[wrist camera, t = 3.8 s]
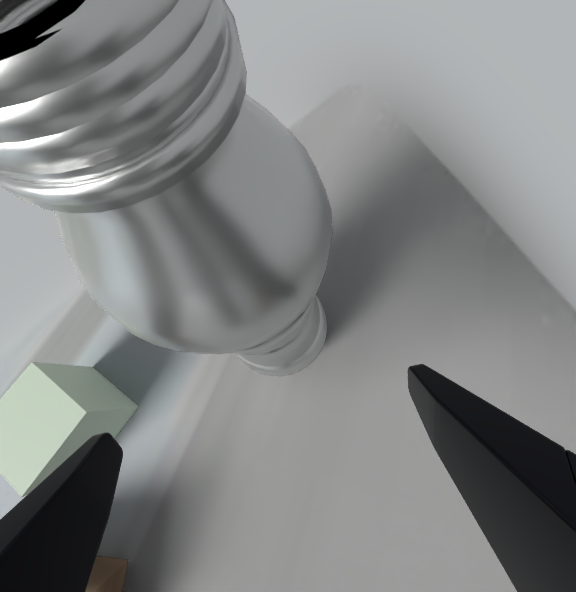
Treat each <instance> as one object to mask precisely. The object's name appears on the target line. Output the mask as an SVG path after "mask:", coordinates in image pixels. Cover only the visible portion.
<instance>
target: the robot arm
mask: <svg viewBox="0 0 576 592" xmlns="http://www.w3.org/2000/svg"><path fill="white" fill-rule="evenodd" d="M408 388H409V392H410V395H411V398H412V400H413V402H414V404H415V407H416V409H417V411H418V413H419V415H420V418H421V420H422V422H423V424H424V427H425V429H426V431H427V433H428V436H429V438H430V440H431V442H432V444H433V446H434V448H435V450H436V452H437V454H438V455H439V457H440V459H441V461H442V462H443V464H444V466H445V468H446V469H447V471H448V473H449V474H450V476H451V478H452V480H453V481H454V483H455V485H456V487H457V488H458V490H459V492H460V493H461V495H462V497H463V499H464V500H465V502H466V504H467V506H468V507H469V509H470V511H471V512H472V514H473V516H474V518H475V519H476V521H477V523H478V525H479V526H480V528H481V530H482V531H483V533H484V535H485V537H486V538H487V540H488V542H489V544H490V545H491V547H492V549H493V550H494V552H495V554H496V556H497V557H498V559H499V561H500V563H501V564H502V566H503V568H504V569H505V571H506V573H507V575H508V576H509V578H510V580H511V582H512V583H513V585H514V587H515V588H516V590H517V592H576V454H574V453H573V452H571V451H569V450H566V451H565V449H564V447H562V446H561V445H559V444H557V443H555V442H554V441H552V440H550V439H549V438H547V437H545V436H544V435H542V434H540V433H539V432H537V431H535V430H534V429H532V428H530V427H529V426H527V425H525V424H523V423H522V422H520V421H518V420H517V419H515V418H513V417H512V416H510V415H508V414H507V413H505V412H503V411H502V410H500V409H498V408H497V407H495V406H493V405H491V404H490V403H488V402H486V401H485V400H483V399H481V398H480V397H478V396H476V395H475V394H473V393H471V392H470V391H468V390H466V389H465V388H463V387H461V386H459V385H458V384H456V383H454V382H453V381H451V380H449V379H448V378H446V377H444V376H443V375H441V374H439V373H438V372H436V371H434V370H433V369H431V368H429V367H427V366H426V365H424V364H419V365H414V366H410V367H409V368H408ZM122 458H123V450H122V448H121V447H120V445H119V444H118V443H117V441H116V440H115V439H114V437H113V436H112V435H111V434H110V433H108V432H105V433H100V434H96V435H93V436H92V437H91V438H89V439H88V440H87V441H86V442H85V443H84V444H83V445H82V446H81V447H80V448H78V449H77V450H76V451H75V452H74V453H73V454H72V455H71V456H70V457H69V458H67V459H66V460H65V461H64V462H63V463H62V464H61V465H60V466H59V467H58V468H56V469H55V470H54V471H53V472H52V473H51V474H50V475H49V476H48V477H47V478H46V479H44V480H43V481H42V482H41V483H40V484H39V485H38V486H37V487H36V488H35V489H33V490H32V491H31V492H30V493H29V494H28V495H27V496H26V497H25V498H24V499H22V500H21V501H20V502H19V503H18V504H17V505H16V506H15V507H14V508H13V509H12V510H10V511H9V512H8V513H7V514H6V515H5V516H4V517H3V518H2V519H1V520H0V592H85V591H86V588H87V585H88V582H89V579H90V575H91V572H92V569H93V566H94V563H95V560H96V557H97V553H98V550H99V547H100V544H101V541H102V538H103V534H104V531H105V528H106V525H107V522H108V518H109V515H110V511H111V507H112V503H113V499H114V494H115V490H116V485H117V481H118V476H119V472H120V467H121V463H122Z"/></svg>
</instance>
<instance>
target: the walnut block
mask: <svg viewBox="0 0 576 592" xmlns="http://www.w3.org/2000/svg"><path fill="white" fill-rule="evenodd" d="M127 564H128V560H125V559H117V558H110V557H103V556H97V557H96V560H95V563H94V566H93V569H92V572H91V575H90V579H89V582H88V585H87V588H86V591H85V592H123V586H124V581H125V575H126V569H127Z"/></svg>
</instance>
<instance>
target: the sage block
mask: <svg viewBox="0 0 576 592" xmlns="http://www.w3.org/2000/svg"><path fill="white" fill-rule="evenodd" d="M137 408H138V405H136V404H135V403H134V402H133V401H132V400H131V399H129V398H128V397H127V396H126V395H125V394H124V393H122V392H121V391H120V390H119V389H118V388H116V387H115V386H114V385H113V384H112V383H111V382H109V381H108V380H107V379H106V378H105V377H104V376H102V375H101V374H100V373H99V372H98V371H97V370H95V369H94V368H93V367H85V366H73V365H61V364H49V363H37V362H31V364H30V365H29V366H28V367H27V368H26V369H25V371H24V372H23V373H22V374H21V375H20V377H19V378H18V379H17V380H16V381H15V383H14V384H13V385H12V386H11V387H10V388H9V390H8V391H7V392H6V393H5V394H4V396H3V397H2V398H1V399H0V474H1V475H2V476H3V477H4V478H5V479H6V480H7V482H8V483H9V484H10V485H11V486H12V487H13V488H14V489H15V490H16V492H17V493H18V494H19V495H20V496H21V497H23V496H25V495H28V494H29V493H30V492H31V491H32V490H33V489H35V488H36V487H37V486H38V485H39V484H40V483H41V482H42V481H43V480H44V479H46V478H47V477H48V476H49V475H50V474H51V473H52V472H53V471H54V470H55V469H56V468H58V467H59V466H60V465H61V464H62V463H63V462H64V461H65V460H66V459H67V458H69V457H70V456H71V455H72V454H73V453H74V452H75V451H76V450H77V449H78V448H80V447H81V446H82V445H83V444H84V443H85V442H86V441H87V440H88V439H89V438H91V437H92V436H93V435H96V434H100V433H105V432H108V433H110V434H111V435H112V436H113V437H114V439H115V438H116V436H117V435H118V434H119V432H120V431H121V430H122V428H123V427H124V426H125V424H126V423H127V421H128V420H129V419H130V417H131V416H132V415H133V413H134V412H135V411H136V409H137Z"/></svg>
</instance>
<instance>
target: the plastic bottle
mask: <svg viewBox="0 0 576 592" xmlns="http://www.w3.org/2000/svg"><path fill="white" fill-rule="evenodd" d="M246 74H247V71H246V67H245V62H244V59H243V53H242V49H241V45H240V40H239V36H238V32H237V27H236V23H235V19H234V16H233V14H232V12H231V10H230V9H229V7H228V5H227V3H226V2H225V0H0V186H1V187H2V188H4V189H5V190H7V191H9V192H10V193H12V194H13V195H15V196H17V197H18V198H20V199H21V200H23V201H26V202H28V203H31V204H33V205H35V206H38V207H40V208H43V209H46V210H52V211H54V212H55V216H56V220H57V225H58V229H59V232H60V235H61V237H62V240H63V242H64V244H65V247H66V249H67V251H68V254H69V256H70V259H71V261H72V263H73V266H74V268H75V270H76V273H77V275H78V277H79V280H80V282H81V284H82V285H83V286H84V288H85V289H86V290H87V292H88V293H89V294H90V296H91V297H92V298H93V300H94V301H95V302H96V303H97V304H98V305H99V306H101V307H102V308H103V309H104V310H105V311H106V312H107V313H108V314H109V315H110V316H111V317H112V318H114V319H115V320H116V321H117V322H118V323H120V324H121V325H122V326H123V327H124V328H126V329H127V330H128V331H129V332H130V333H132V334H133V335H135V336H137V337H139V338H141V339H143V340H145V341H147V342H149V343H151V344H153V345H155V346H159V347H163V348H167V349H171V350H175V351H179V352H189V353H196V354H225V353H234V354H235V355H236V356H237V357H238V358H239V359H240V360H241V361H242V362H243V363H244V364H245V365H247V366H248V367H249V368H251V369H252V370H254V371H256V372H258V373H261V374H265V375H269V376H286V375H291V374H294V373H296V372H299V371H301V370H302V369H304V368H305V367H307V366H308V365H310V364H311V363H312V362H313V361H314V360H315V359H316V357H317V356H318V354H319V353H320V351H321V350H322V347H323V345H324V342H325V339H326V333H327V319H326V315H325V311H324V308H323V306H322V304H321V302H320V300H319V298H318V296H317V295H316V293H317V291H318V289H319V286H320V284H321V281H322V279H323V276H324V274H325V271H326V267H327V262H328V257H329V252H330V246H331V240H332V234H333V230H332V212H331V207H330V203H329V200H328V196H327V193H326V189H325V187H324V185H323V182H322V180H321V178H320V176H319V174H318V171H317V169H316V167H315V165H314V163H313V161H312V159H311V158H310V156H309V154H308V152H307V150H306V149H305V147H304V146H303V145H302V144H301V143H300V141H299V140H298V139H297V138H296V137H295V136H294V135H293V134H292V132H291V131H290V130H289V129H288V128H286V127H285V126H284V125H283V124H282V123H281V122H280V121H279V120H278V119H277V118H276V117H275V116H274V115H273V114H272V113H271V112H269V111H268V110H267V109H266V108H265V107H263V106H262V105H260V104H259V103H257V102H256V101H255V100H254V99H252V98H251V97H249V96H248V95H247V94H245V93H246Z"/></svg>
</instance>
